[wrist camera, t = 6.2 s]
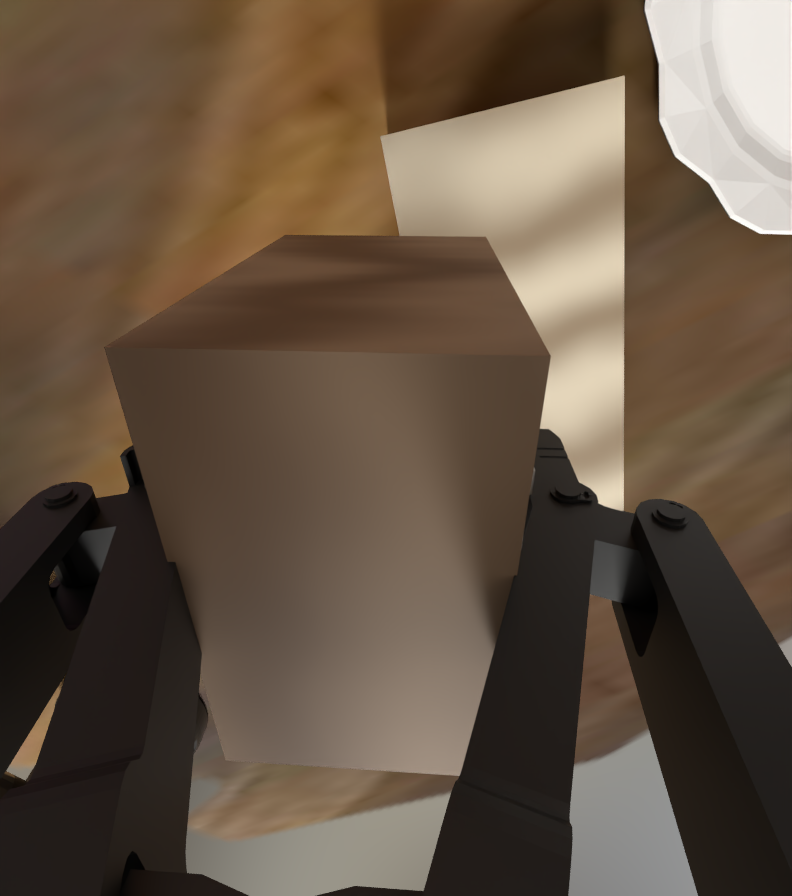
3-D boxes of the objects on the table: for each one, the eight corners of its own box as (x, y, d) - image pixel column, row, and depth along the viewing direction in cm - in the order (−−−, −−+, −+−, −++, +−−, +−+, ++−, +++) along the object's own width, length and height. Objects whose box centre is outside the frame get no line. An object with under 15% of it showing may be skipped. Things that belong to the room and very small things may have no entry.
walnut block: (486, 236, 15) (550, 355, 7) (464, 509, 20) (485, 777, 12) (285, 234, 16) (104, 347, 7) (312, 504, 21) (225, 760, 12)
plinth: (602, 470, 39) (623, 511, 34) (454, 490, 41) (457, 531, 36) (594, 85, 27) (624, 75, 23) (388, 137, 29) (380, 136, 25)
